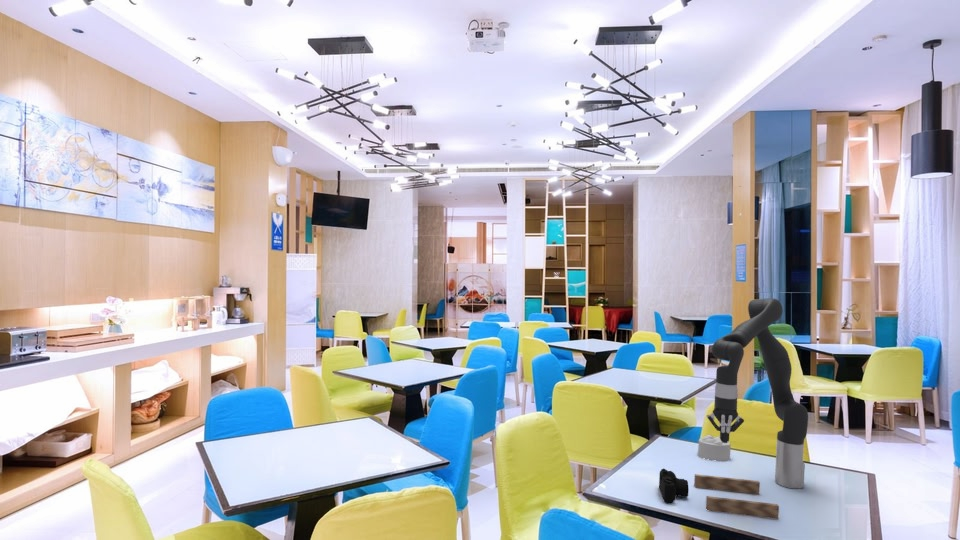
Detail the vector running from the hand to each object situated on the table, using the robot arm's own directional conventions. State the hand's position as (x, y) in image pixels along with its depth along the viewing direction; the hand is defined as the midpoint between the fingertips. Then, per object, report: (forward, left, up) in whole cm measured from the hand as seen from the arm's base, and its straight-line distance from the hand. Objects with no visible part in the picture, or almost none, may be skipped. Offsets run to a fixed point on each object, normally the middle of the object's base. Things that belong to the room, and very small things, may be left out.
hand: (724, 442), depth 193 cm
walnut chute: (-4, +1, -21) cm, 22 cm away
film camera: (+17, +2, -22) cm, 28 cm away
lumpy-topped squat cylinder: (-7, -45, -21) cm, 51 cm away
